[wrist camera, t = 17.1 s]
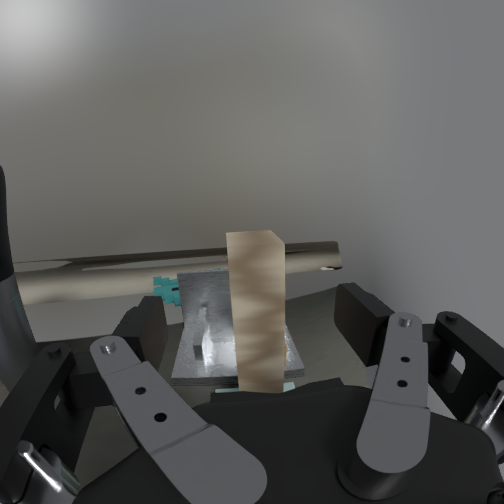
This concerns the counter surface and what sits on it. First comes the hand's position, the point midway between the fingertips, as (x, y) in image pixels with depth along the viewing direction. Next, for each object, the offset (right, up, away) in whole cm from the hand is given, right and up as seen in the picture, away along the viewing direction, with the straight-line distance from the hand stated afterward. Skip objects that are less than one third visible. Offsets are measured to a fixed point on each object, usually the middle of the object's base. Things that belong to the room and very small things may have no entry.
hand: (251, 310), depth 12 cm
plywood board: (+1, -16, +15) cm, 21 cm away
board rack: (-3, -13, +29) cm, 32 cm away
